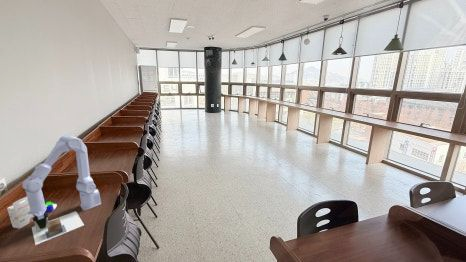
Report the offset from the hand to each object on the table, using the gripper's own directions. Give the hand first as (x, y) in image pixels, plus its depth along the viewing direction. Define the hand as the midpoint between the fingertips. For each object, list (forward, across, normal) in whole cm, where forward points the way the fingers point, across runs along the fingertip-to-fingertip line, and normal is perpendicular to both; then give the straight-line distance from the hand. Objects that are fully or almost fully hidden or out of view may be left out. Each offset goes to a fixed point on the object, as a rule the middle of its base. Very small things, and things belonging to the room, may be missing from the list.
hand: (42, 225), depth 111 cm
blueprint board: (+2, +4, +6) cm, 7 cm away
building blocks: (+2, -23, +2) cm, 23 cm away
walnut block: (+1, +9, +4) cm, 10 cm away
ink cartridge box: (+2, -12, -6) cm, 14 cm away
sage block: (+1, 0, 0) cm, 1 cm away
